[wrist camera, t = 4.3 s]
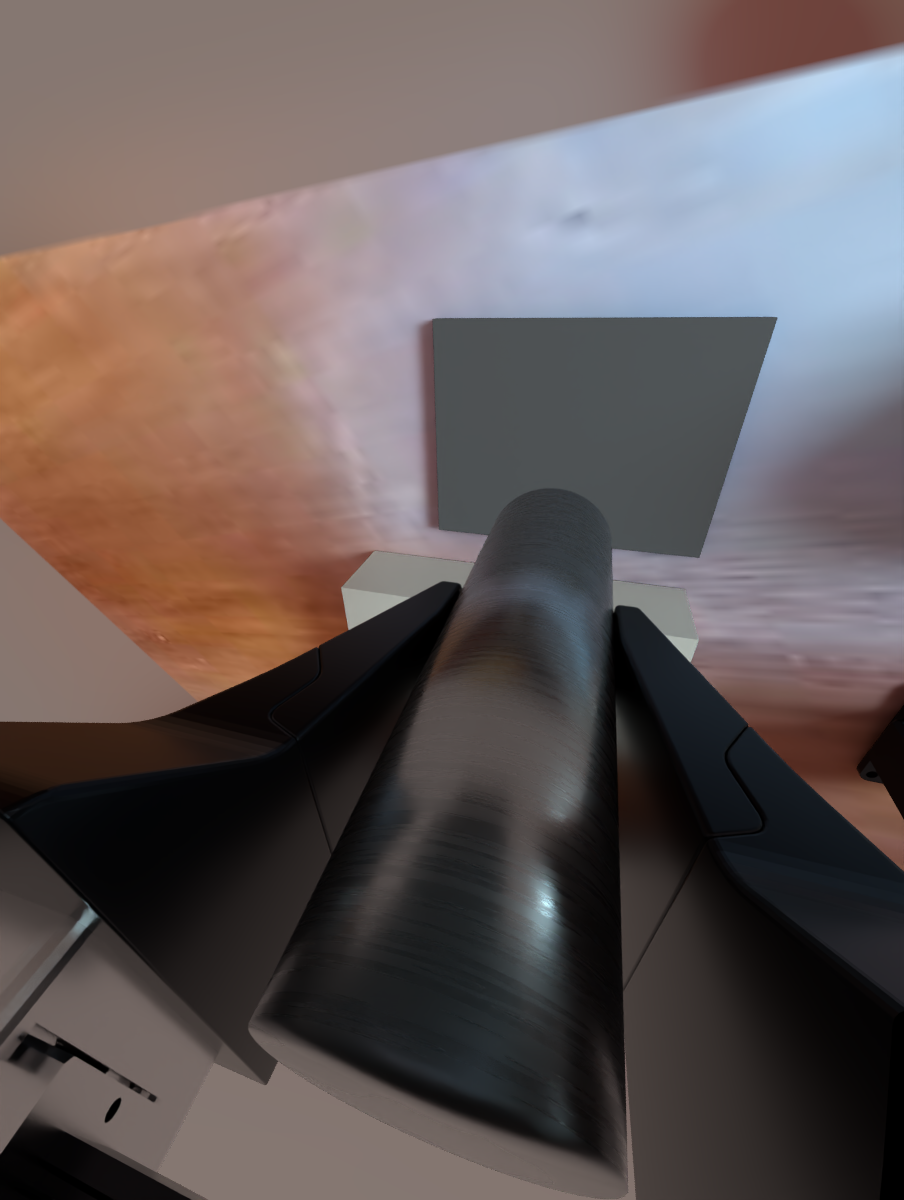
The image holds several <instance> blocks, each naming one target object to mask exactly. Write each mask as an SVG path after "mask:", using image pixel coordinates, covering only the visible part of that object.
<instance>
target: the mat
mask: <svg viewBox="0 0 904 1200" xmlns="http://www.w3.org/2000/svg"><path fill="white" fill-rule="evenodd" d="M776 321H777V317H653V318H437V319H433V347H434V380H435V412H436V445H437V478H438V511H439V530H447V531H456V532H466V533H475V534H484V535H489V533H490V531H491V529H492V527H493V525H494V523H495V521H496V519H497V517H498V516H499V514H500V512H501V511H502V510H503V509H504V507H505V506H506V505H508V504H509V503H510V502H511V501H512V500H514V499H515V498H516V497H518V496H520V495H522V494H524V493H527V492H530V491H533V490H537V489H544V488H558V489H564V490H568V491H572V492H574V493H577V494H579V495H581V496H583V497H585V498H586V499H588V500H589V501H590V502H592V503H593V504H594V505H595V506H596V507H597V508H598V509H599V510H600V511H601V513H602V514H603V516H604V517H605V519H606V521H607V523H608V526H609V528H610V532H611V538H612V548H613V549H622V550H632V551H641V552H650V553H659V554H668V555H678V556H687V557H696V558H699V557H700V554H701V551H702V548H703V545H704V542H705V538H706V535H707V532H708V529H709V526H710V523H711V520H712V517H713V514H714V511H715V508H716V505H717V502H718V499H719V496H720V492H721V489H722V486H723V483H724V480H725V477H726V474H727V471H728V468H729V465H730V462H731V459H732V456H733V453H734V450H735V446H736V443H737V440H738V437H739V434H740V431H741V428H742V425H743V422H744V419H745V416H746V413H747V410H748V407H749V404H750V400H751V397H752V394H753V391H754V388H755V385H756V382H757V379H758V376H759V373H760V370H761V367H762V364H763V361H764V358H765V355H766V351H767V348H768V345H769V342H770V339H771V336H772V333H773V330H774V327H775V324H776Z"/></svg>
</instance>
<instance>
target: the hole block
mask: <svg viewBox="0 0 904 1200" xmlns="http://www.w3.org/2000/svg"><path fill="white" fill-rule="evenodd" d="M474 564H475V563H470V562H462V561H454V560H445V559H437V558H429V557H421V556H413V555H405V554H397V553H389V552H381V551H374V552H373V553H372V554H371V555H370V556H369V558H368V559H367V560H366V561H365V562H364V563H363V564H362V565H361V566H360V567H359V569H358V570H357V571H356V572H355V573H354V574H353V575H352V576H351V577H350V578H349V580H348V581H347V582H346V583H345V584H344V585H343V586H342V587H341V589H342V595H343V600H344V606H345V612H346V618H347V623H348V629H349V630H350V629H352V628H354V627H355V626H357V625H359V624H361V623H363V622H365V621H367V620H369V619H371V618H373V617H374V616H376V615H378V614H380V613H382V612H384V611H386V610H388V609H390V608H392V607H393V606H395V605H397V604H399V603H401V602H403V601H405V600H407V599H409V598H410V597H412V596H414V595H416V594H418V593H420V592H422V591H424V590H426V589H428V588H429V587H431V586H433V585H435V584H437V583H439V582H441V581H448V582H455V583H459V584H461V587H462V588H463V586H464V584H465V582H466V580H467V578H468V576H469V574H470V572H471V570H472V568H473V566H474ZM618 605H624V606H632V607H637V608H639V609H640V610H641V611H642V612H643V613H644V614H645V615H646V616H647V617H648V618H649V619H650V620H651V621H652V622H653V623H654V624H655V625H656V626H657V628H658V629H659V630H660V631H661V632H662V633H663V634H664V635H665V636H666V637H667V638H668V639H669V640H670V641H671V642H672V644H673V645H674V646H675V647H676V648H677V649H678V650H679V651H680V652H681V653H682V654H683V655H684V656H685V657H686V658H687V659H688V661H689V662H690V663H691V660H692V657H693V655H694V652H695V649H696V646H697V644H698V641H699V639H698V635H697V632H696V628H695V624H694V621H693V617H692V613H691V610H690V606H689V602H688V598H687V595H686V591H685V589H679V588H671V587H663V586H655V585H647V584H639V583H631V582H623V581H615V580H613V613H614V610H615V607H616V606H618Z"/></svg>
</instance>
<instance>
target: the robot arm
mask: <svg viewBox="0 0 904 1200" xmlns="http://www.w3.org/2000/svg"><path fill="white" fill-rule="evenodd" d="M461 590H462V587H461V584H459V583H455V582H448V581H441V582H439V583H437V584H435V585H433V586H431V587H429V588H428V589H426V590H424V591H422V592H420V593H418V594H416V595H414V596H412V597H410V598H409V599H407V600H405V601H403V602H401V603H399V604H397V605H395V606H393V607H392V608H390V609H388V610H386V611H384V612H382V613H380V614H378V615H376V616H374V617H373V618H371V619H369V620H367V621H365V622H363V623H361V624H359V625H357V626H355V627H354V628H352V629H350V630H348V631H346V632H344V633H342V634H340V635H338V636H336V637H335V638H333V639H331V640H329V641H327V642H325V643H323V644H321V645H320V646H319V648H317V647H315V648H313V649H312V650H310V651H308V652H306V653H304V654H302V655H300V656H298V657H296V658H294V659H292V660H290V661H288V662H286V663H284V664H282V665H280V666H278V667H276V668H274V669H272V670H270V671H267V672H265V673H263V674H261V675H259V676H256V677H254V678H252V679H250V680H248V681H245V682H243V683H241V684H238V685H236V686H234V687H231V688H229V689H227V690H224V691H222V692H220V693H217V694H215V695H213V696H211V697H208V698H206V699H204V700H201V701H199V702H197V703H195V704H192V705H190V706H188V707H185V708H183V709H181V710H178V711H176V712H173V713H171V714H168V715H165V716H162V717H158V718H155V719H150V720H145V721H140V722H131V723H63V722H0V1200H207V1199H206V1198H204V1197H202V1196H200V1195H198V1194H196V1193H194V1192H192V1191H191V1190H189V1189H187V1188H185V1187H183V1186H181V1185H179V1184H178V1183H176V1182H174V1181H172V1180H170V1179H168V1178H166V1177H164V1176H162V1175H161V1174H159V1173H158V1171H159V1169H160V1167H161V1165H162V1163H163V1161H164V1159H165V1157H166V1155H167V1153H168V1151H169V1149H170V1148H171V1146H172V1144H173V1142H174V1139H175V1138H176V1136H177V1134H178V1132H179V1130H180V1128H181V1126H182V1124H183V1122H184V1120H185V1118H186V1116H187V1114H188V1112H189V1110H190V1108H191V1106H192V1104H193V1103H194V1101H195V1098H196V1097H197V1095H198V1093H199V1091H200V1089H201V1087H202V1085H203V1083H204V1081H205V1079H206V1077H207V1075H208V1073H209V1071H210V1069H211V1067H212V1065H213V1063H217V1064H219V1065H221V1066H223V1067H225V1068H227V1069H230V1070H232V1071H234V1072H236V1073H239V1074H241V1075H243V1076H245V1077H247V1078H250V1079H252V1080H254V1081H256V1082H259V1083H261V1084H263V1085H266V1084H267V1083H268V1081H269V1079H270V1077H271V1075H272V1073H273V1071H274V1069H275V1066H276V1064H277V1062H278V1060H276V1059H275V1058H274V1057H272V1056H271V1055H270V1054H269V1053H268V1052H266V1051H265V1050H264V1049H263V1048H262V1047H261V1046H260V1045H259V1044H258V1043H257V1042H256V1041H255V1040H254V1038H253V1037H252V1036H251V1034H250V1032H249V1029H248V1025H249V1022H250V1020H251V1018H252V1016H253V1014H254V1012H255V1010H256V1007H257V1005H258V1003H259V1001H260V999H261V997H262V995H263V993H264V991H265V989H266V987H267V985H268V983H269V981H270V979H271V977H272V975H273V973H274V971H275V969H276V967H277V965H278V963H279V961H280V959H281V957H282V955H283V953H284V950H285V948H286V946H287V944H288V942H289V940H290V938H291V936H292V934H293V932H294V930H295V928H296V926H297V924H298V922H299V920H300V918H301V916H302V914H303V912H304V910H305V908H306V906H307V904H308V902H309V900H310V898H311V895H312V893H313V891H314V889H315V887H316V885H317V883H318V881H319V879H320V877H321V875H322V873H323V871H324V869H325V867H326V865H327V863H328V861H329V859H330V857H331V855H332V853H333V851H334V849H335V847H336V845H337V843H338V841H339V838H340V836H341V834H342V832H343V830H344V828H345V826H346V824H347V822H348V820H349V818H350V816H351V814H352V812H353V810H354V808H355V806H356V804H357V802H358V800H359V798H360V796H361V794H362V792H363V790H364V788H365V786H366V784H367V781H368V779H369V777H370V775H371V773H372V771H373V769H374V767H375V765H376V763H377V761H378V759H379V757H380V755H381V753H382V751H383V749H384V747H385V745H386V743H387V741H388V739H389V737H390V735H391V733H392V731H393V729H394V726H395V724H396V722H397V720H398V718H399V716H400V714H401V712H402V710H403V708H404V706H405V704H406V702H407V700H408V698H409V696H410V694H411V692H412V690H413V688H414V686H415V684H416V682H417V680H418V678H419V676H420V674H421V672H422V669H423V667H424V665H425V663H426V661H427V659H428V657H429V655H430V653H431V651H432V649H433V647H434V645H435V643H436V641H437V639H438V637H439V635H440V633H441V631H442V629H443V627H444V625H445V623H446V621H447V619H448V617H449V615H450V612H451V610H452V608H453V606H454V604H455V602H456V600H457V598H458V596H459V594H460V592H461ZM613 615H614V655H615V694H616V734H617V773H618V813H619V852H620V891H621V931H622V970H623V1010H624V1039H625V1053H626V1067H627V1080H628V1095H629V1109H630V1122H631V1136H632V1150H633V1163H634V1178H635V1191H636V1200H904V871H903V870H902V869H900V868H899V867H898V866H897V865H896V864H895V863H894V862H893V861H892V860H891V859H889V858H888V857H887V856H886V855H885V854H884V853H883V852H882V851H881V850H879V849H878V848H877V847H876V846H875V845H874V844H873V843H872V842H871V841H869V840H868V839H867V838H866V837H865V836H864V835H863V834H862V833H861V832H860V831H858V830H857V829H856V828H855V827H854V826H853V825H852V824H851V823H850V822H848V821H847V820H846V819H845V818H844V817H843V816H842V815H841V814H840V813H838V812H837V811H836V810H835V809H834V808H833V807H832V806H831V805H830V804H828V803H827V802H826V801H825V800H824V799H823V798H822V797H821V796H820V795H819V794H818V793H817V792H816V791H815V790H814V789H812V788H811V787H810V786H809V785H808V784H807V783H806V782H805V781H804V780H803V779H802V778H801V777H800V776H799V775H797V774H796V773H795V772H794V771H793V770H792V769H791V768H790V767H789V766H788V765H787V764H786V763H785V762H784V761H783V760H782V759H781V757H780V756H779V755H778V754H777V753H776V752H775V751H774V750H773V749H772V748H771V747H770V746H769V745H768V744H767V743H766V742H765V741H764V740H763V739H762V738H761V737H760V736H759V735H758V734H757V733H756V732H755V730H754V729H753V728H751V727H748V723H747V722H746V721H745V720H744V719H743V718H742V717H741V716H740V715H739V714H738V713H737V712H736V711H735V709H734V708H733V707H732V706H731V705H730V704H729V703H728V702H727V701H726V700H725V699H724V698H723V697H722V696H721V695H720V694H719V692H718V691H717V690H716V689H715V688H714V687H713V686H712V685H711V684H710V683H709V682H708V681H707V680H706V679H705V678H704V676H703V675H702V674H701V673H700V672H699V671H698V670H697V669H696V668H695V667H694V666H693V665H692V664H691V663H690V662H689V661H688V659H687V658H686V657H685V656H684V655H683V654H682V653H681V652H680V651H679V650H678V649H677V648H676V647H675V646H674V645H673V644H672V642H671V641H670V640H669V639H668V638H667V637H666V636H665V635H664V634H663V633H662V632H661V631H660V630H659V629H658V628H657V626H656V625H655V624H654V623H653V622H652V621H651V620H650V619H649V618H648V617H647V616H646V615H645V614H644V613H643V612H642V611H641V610H640V609H639V608H637V607H632V606H624V605H618V606H616V607H615V610H614V613H613ZM857 771H858V773H859V775H860V776H861V778H863V779H864V780H867V781H872V782H877V783H882V784H884V786H885V787H886V789H887V791H888V793H889V794H890V796H891V798H892V800H893V801H894V803H895V805H896V807H897V808H898V810H899V812H900V814H901V815H902V817H903V819H904V706H903V707H902V708H901V710H900V711H899V712H898V714H897V715H896V716H895V718H894V719H893V720H892V722H891V723H890V724H889V726H888V727H887V728H886V729H885V731H884V732H883V733H882V735H881V736H880V737H879V739H878V740H877V741H876V743H875V744H874V745H873V747H872V748H871V749H870V750H869V752H868V753H867V754H866V756H865V757H864V758H863V760H862V761H861V762H860V764H859V765H858V766H857Z"/></svg>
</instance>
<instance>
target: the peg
mask: <svg viewBox="0 0 904 1200" xmlns="http://www.w3.org/2000/svg"><path fill="white" fill-rule="evenodd" d="M248 1029H249V1032H250V1034H251V1036H252V1037H253V1038H254V1040H255V1041H256V1042H257V1043H258V1044H259V1045H260V1046H261V1047H262V1048H263V1049H264V1050H265V1051H266V1052H268V1053H269V1054H270V1055H271V1056H272V1057H274V1058H275V1059H276V1060H278V1061H279V1062H280V1063H282V1064H283V1065H285V1066H286V1067H287V1068H289V1069H290V1070H292V1071H293V1072H294V1073H296V1074H298V1075H299V1076H301V1077H302V1078H304V1079H305V1080H307V1081H309V1082H310V1083H312V1084H314V1085H315V1086H317V1087H318V1088H320V1089H322V1090H323V1091H325V1092H327V1093H329V1094H330V1095H332V1096H334V1097H336V1098H337V1099H339V1100H341V1101H343V1102H345V1103H346V1104H348V1105H350V1106H352V1107H354V1108H356V1109H358V1110H360V1111H362V1112H364V1113H365V1114H367V1115H369V1116H371V1117H373V1118H375V1119H377V1120H379V1121H381V1122H383V1123H385V1124H387V1125H389V1126H392V1127H394V1128H396V1129H398V1130H400V1131H402V1132H404V1133H406V1134H408V1135H411V1136H413V1137H415V1138H417V1139H419V1140H422V1141H424V1142H426V1143H429V1144H431V1145H433V1146H436V1147H438V1148H440V1149H442V1150H445V1151H447V1152H449V1153H452V1154H454V1155H457V1156H459V1157H462V1158H464V1159H467V1160H469V1161H472V1162H474V1163H477V1164H479V1165H482V1166H485V1167H487V1168H490V1169H493V1170H495V1171H498V1172H501V1173H504V1174H507V1175H509V1176H513V1177H516V1178H518V1179H521V1180H524V1181H528V1182H531V1183H534V1184H538V1185H541V1186H544V1187H547V1188H551V1189H555V1190H558V1191H562V1192H566V1193H571V1194H575V1195H579V1196H586V1197H591V1198H600V1199H618V1198H621V1197H624V1196H625V1195H626V1194H627V1193H628V1168H627V1131H626V1090H625V1052H624V1051H625V1050H624V1010H623V970H622V931H621V891H620V852H619V813H618V773H617V734H616V694H615V655H614V615H613V576H612V538H611V532H610V528H609V526H608V523H607V521H606V519H605V517H604V516H603V514H602V513H601V511H600V510H599V509H598V508H597V507H596V506H595V505H594V504H593V503H592V502H590V501H589V500H588V499H586V498H585V497H583V496H581V495H579V494H577V493H574V492H572V491H568V490H564V489H558V488H544V489H537V490H533V491H530V492H527V493H524V494H522V495H520V496H518V497H516V498H515V499H514V500H512V501H511V502H510V503H509V504H508V505H506V506H505V507H504V509H503V510H502V511H501V512H500V514H499V516H498V517H497V519H496V521H495V523H494V525H493V527H492V529H491V531H490V533H489V535H488V537H487V539H486V541H485V543H484V545H483V547H482V549H481V551H480V553H479V555H478V557H477V560H476V562H475V564H474V566H473V568H472V570H471V572H470V574H469V576H468V578H467V580H466V582H465V584H464V586H463V588H462V590H461V592H460V594H459V596H458V598H457V600H456V602H455V604H454V606H453V608H452V610H451V612H450V615H449V617H448V619H447V621H446V623H445V625H444V627H443V629H442V631H441V633H440V635H439V637H438V639H437V641H436V643H435V645H434V647H433V649H432V651H431V653H430V655H429V657H428V659H427V661H426V663H425V665H424V667H423V669H422V672H421V674H420V676H419V678H418V680H417V682H416V684H415V686H414V688H413V690H412V692H411V694H410V696H409V698H408V700H407V702H406V704H405V706H404V708H403V710H402V712H401V714H400V716H399V718H398V720H397V722H396V724H395V726H394V729H393V731H392V733H391V735H390V737H389V739H388V741H387V743H386V745H385V747H384V749H383V751H382V753H381V755H380V757H379V759H378V761H377V763H376V765H375V767H374V769H373V771H372V773H371V775H370V777H369V779H368V781H367V784H366V786H365V788H364V790H363V792H362V794H361V796H360V798H359V800H358V802H357V804H356V806H355V808H354V810H353V812H352V814H351V816H350V818H349V820H348V822H347V824H346V826H345V828H344V830H343V832H342V834H341V836H340V838H339V841H338V843H337V845H336V847H335V849H334V851H333V853H332V855H331V857H330V859H329V861H328V863H327V865H326V867H325V869H324V871H323V873H322V875H321V877H320V879H319V881H318V883H317V885H316V887H315V889H314V891H313V893H312V895H311V898H310V900H309V902H308V904H307V906H306V908H305V910H304V912H303V914H302V916H301V918H300V920H299V922H298V924H297V926H296V928H295V930H294V932H293V934H292V936H291V938H290V940H289V942H288V944H287V946H286V948H285V950H284V953H283V955H282V957H281V959H280V961H279V963H278V965H277V967H276V969H275V971H274V973H273V975H272V977H271V979H270V981H269V983H268V985H267V987H266V989H265V991H264V993H263V995H262V997H261V999H260V1001H259V1003H258V1005H257V1007H256V1010H255V1012H254V1014H253V1016H252V1018H251V1020H250V1022H249V1025H248Z"/></svg>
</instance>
